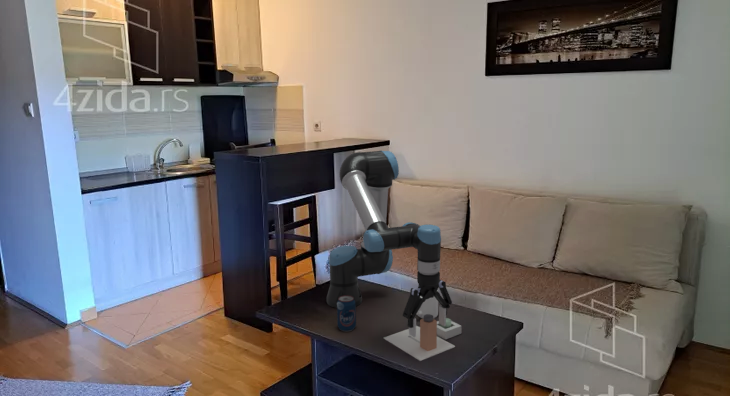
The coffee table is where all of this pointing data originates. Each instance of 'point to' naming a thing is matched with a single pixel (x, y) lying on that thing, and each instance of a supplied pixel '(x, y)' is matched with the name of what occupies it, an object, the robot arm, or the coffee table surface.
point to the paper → (416, 344)
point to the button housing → (448, 330)
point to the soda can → (346, 313)
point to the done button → (447, 323)
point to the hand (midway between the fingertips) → (427, 330)
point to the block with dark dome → (428, 333)
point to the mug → (428, 308)
